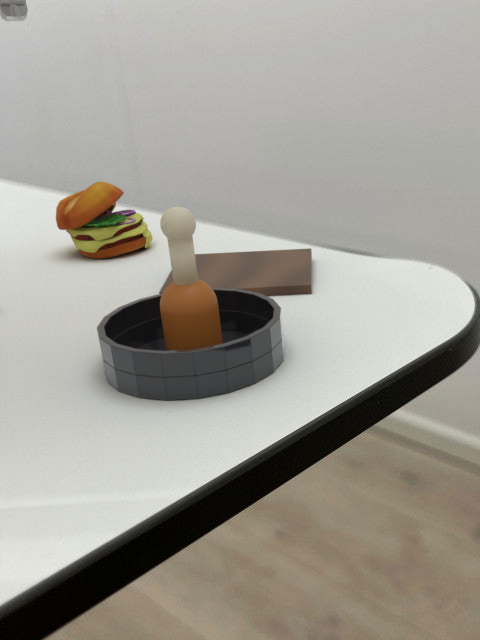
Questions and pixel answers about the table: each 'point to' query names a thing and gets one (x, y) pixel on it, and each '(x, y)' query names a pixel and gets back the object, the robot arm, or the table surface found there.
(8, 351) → the table surface
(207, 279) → the board
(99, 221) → the cheeseburger
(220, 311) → the pan
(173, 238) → the drumstick
